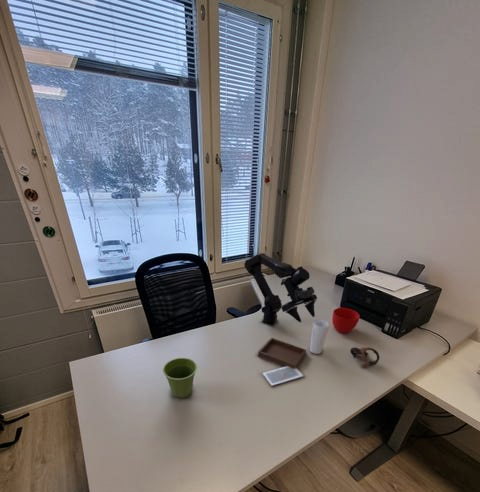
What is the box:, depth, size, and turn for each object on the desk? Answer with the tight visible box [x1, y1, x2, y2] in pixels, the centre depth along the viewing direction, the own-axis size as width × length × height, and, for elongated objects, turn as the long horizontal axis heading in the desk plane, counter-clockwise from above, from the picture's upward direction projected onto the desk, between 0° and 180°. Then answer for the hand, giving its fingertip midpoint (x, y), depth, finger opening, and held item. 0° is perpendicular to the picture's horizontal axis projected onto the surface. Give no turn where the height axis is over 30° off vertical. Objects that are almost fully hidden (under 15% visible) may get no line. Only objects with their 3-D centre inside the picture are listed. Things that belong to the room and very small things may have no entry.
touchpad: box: [261, 366, 304, 387], centre depth 109 cm, size 8×15×2 cm, turn 114°
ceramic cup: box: [331, 306, 361, 334], centre depth 142 cm, size 13×17×10 cm
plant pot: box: [162, 357, 198, 399], centre depth 97 cm, size 12×12×11 cm
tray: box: [257, 337, 307, 369], centre depth 121 cm, size 18×14×2 cm
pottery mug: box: [349, 346, 380, 369], centre depth 118 cm, size 12×10×8 cm
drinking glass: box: [309, 319, 330, 355], centre depth 121 cm, size 7×7×15 cm
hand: (307, 319), depth 124 cm, fingers open, 9 cm apart
